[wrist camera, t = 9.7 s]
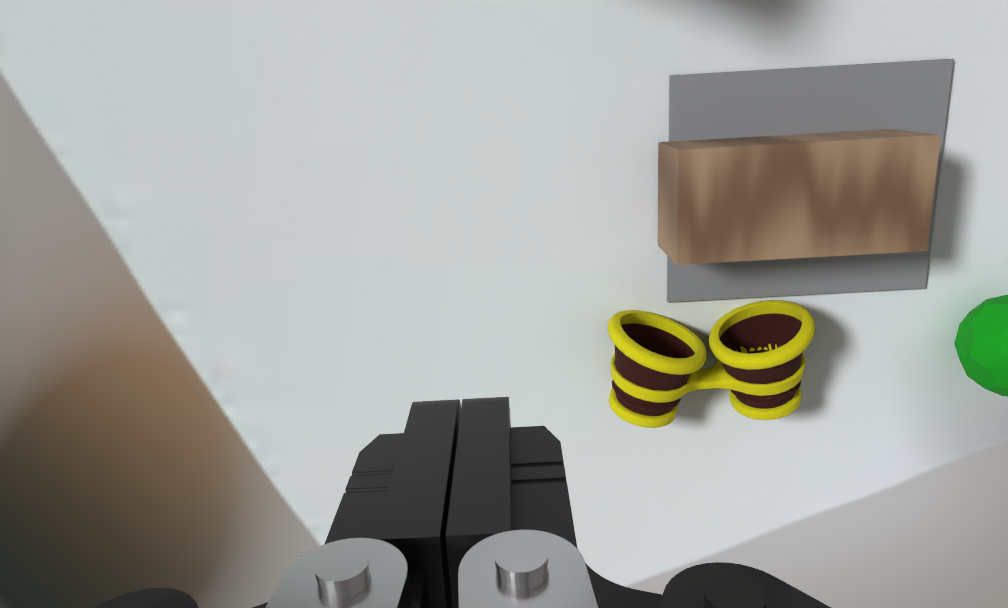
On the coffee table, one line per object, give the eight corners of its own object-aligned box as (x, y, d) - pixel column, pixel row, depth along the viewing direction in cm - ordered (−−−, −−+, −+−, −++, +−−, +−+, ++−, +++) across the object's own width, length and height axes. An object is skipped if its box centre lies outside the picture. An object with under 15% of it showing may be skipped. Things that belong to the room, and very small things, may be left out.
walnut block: (678, 149, 30) (941, 134, 30) (658, 142, 34) (891, 128, 34) (676, 264, 32) (927, 251, 31) (657, 245, 35) (881, 232, 35)
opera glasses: (602, 385, 39) (616, 444, 34) (601, 300, 36) (616, 352, 32) (780, 373, 39) (817, 431, 34) (792, 286, 36) (834, 337, 32)
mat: (669, 75, 33) (670, 75, 33) (950, 59, 33) (953, 58, 33) (666, 301, 36) (668, 302, 36) (923, 287, 36) (925, 288, 36)
